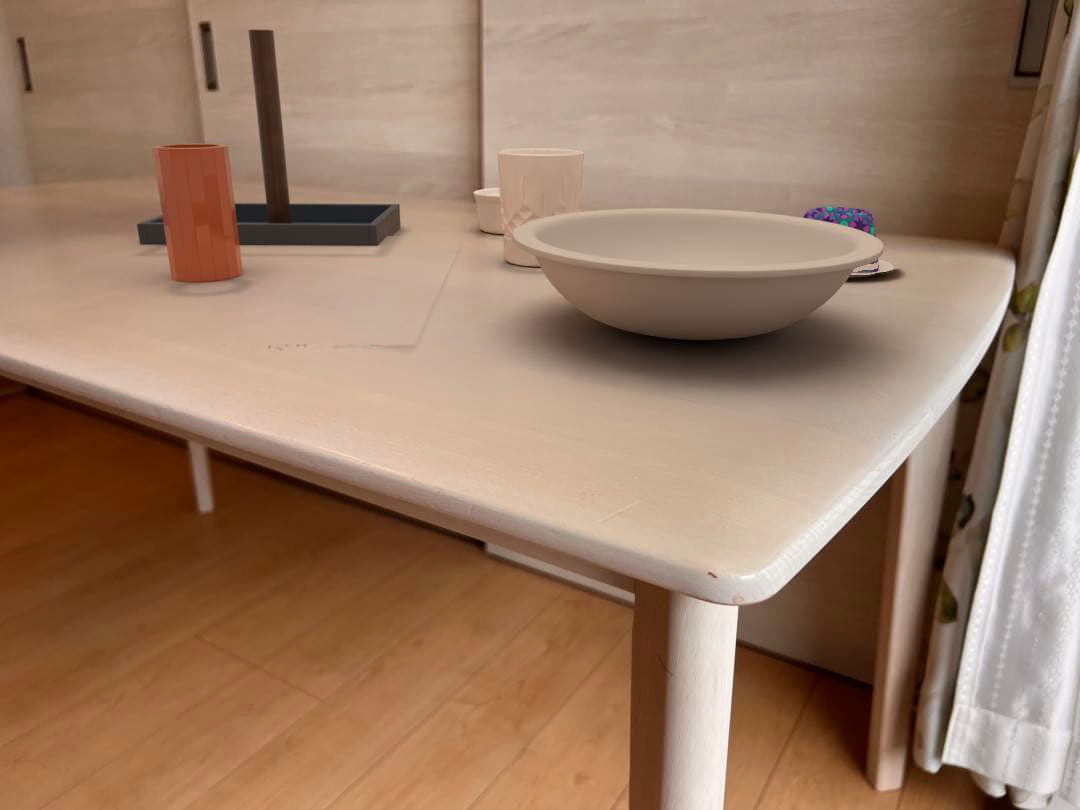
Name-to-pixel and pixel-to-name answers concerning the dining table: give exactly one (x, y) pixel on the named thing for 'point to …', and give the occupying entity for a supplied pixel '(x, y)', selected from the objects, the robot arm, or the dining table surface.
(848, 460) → the dining table surface
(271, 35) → the stick
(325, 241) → the tray
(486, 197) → the ramekin
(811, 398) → the dining table surface
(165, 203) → the crock
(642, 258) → the soup bowl
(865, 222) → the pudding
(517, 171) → the white cup
